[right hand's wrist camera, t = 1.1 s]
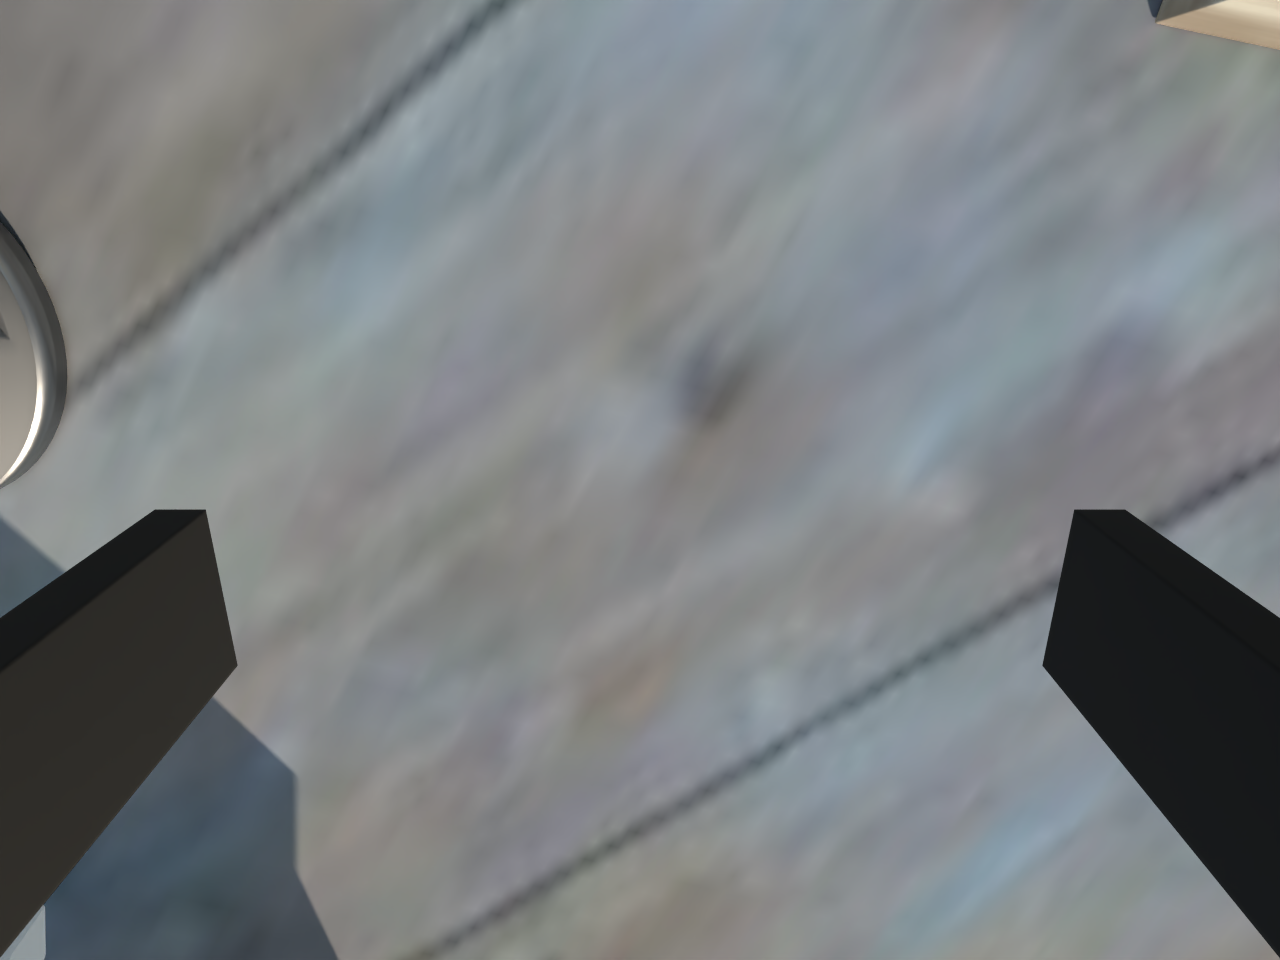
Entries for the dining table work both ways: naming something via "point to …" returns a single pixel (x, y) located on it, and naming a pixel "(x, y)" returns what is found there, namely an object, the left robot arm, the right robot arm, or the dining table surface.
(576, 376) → the dining table surface
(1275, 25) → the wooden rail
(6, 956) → the white plastic object
